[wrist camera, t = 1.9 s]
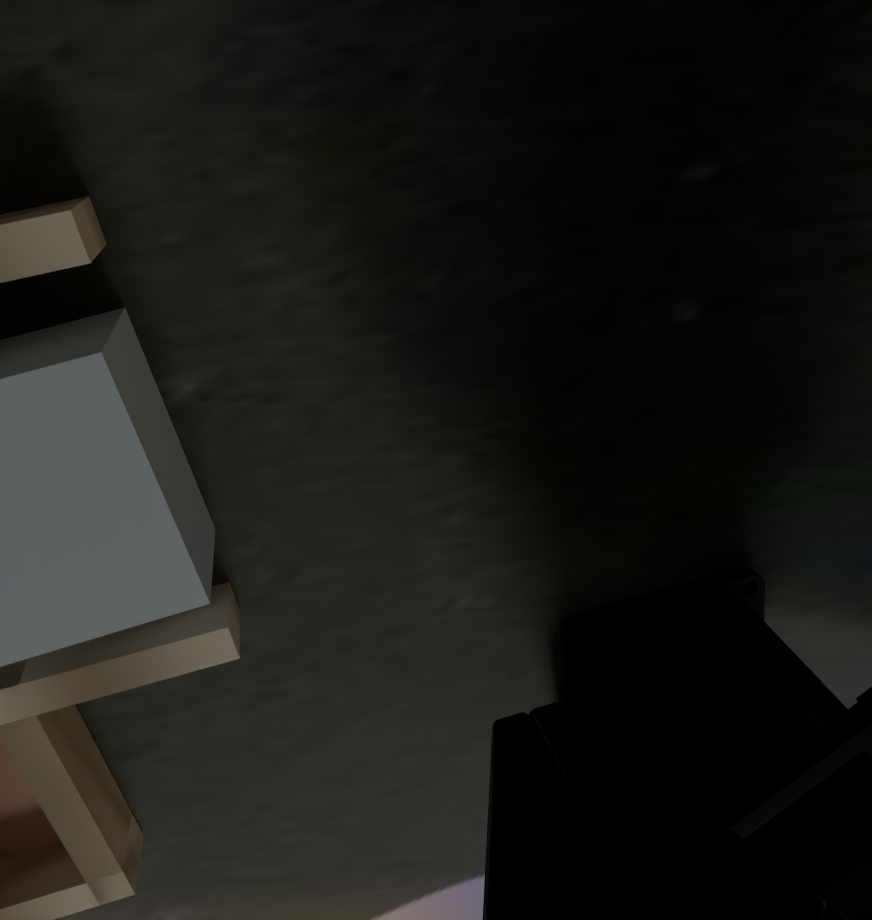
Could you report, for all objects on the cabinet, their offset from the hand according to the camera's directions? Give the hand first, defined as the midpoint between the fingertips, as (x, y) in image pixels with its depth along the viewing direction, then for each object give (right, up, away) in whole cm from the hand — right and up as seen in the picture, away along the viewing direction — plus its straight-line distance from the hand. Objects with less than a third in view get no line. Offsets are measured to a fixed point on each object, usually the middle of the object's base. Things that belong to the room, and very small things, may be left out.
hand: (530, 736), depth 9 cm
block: (-10, +3, +10) cm, 15 cm away
